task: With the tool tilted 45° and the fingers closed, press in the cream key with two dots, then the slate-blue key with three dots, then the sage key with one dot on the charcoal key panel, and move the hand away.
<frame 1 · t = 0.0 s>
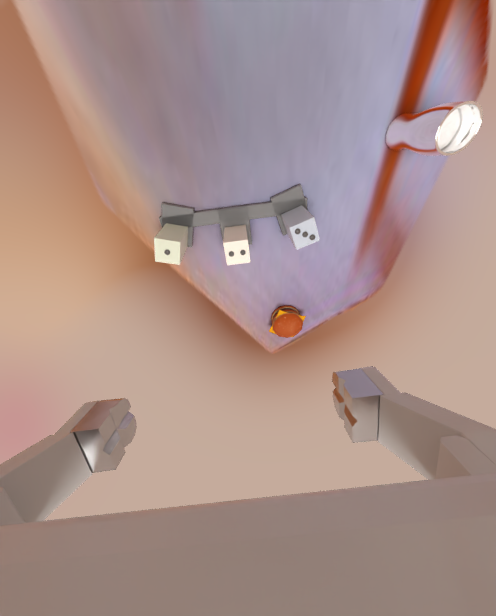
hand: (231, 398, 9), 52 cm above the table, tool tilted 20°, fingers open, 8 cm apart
key one dot: (172, 243, 51), point 7 cm above the table, slide at 0.0 cm
key two dots: (236, 244, 52), point 7 cm above the table, slide at 0.0 cm
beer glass: (400, 132, 47), on the table
hamburger: (284, 316, 74), on the table
key board: (236, 234, 57), on the table
key three dots: (299, 226, 50), point 7 cm above the table, slide at 0.0 cm
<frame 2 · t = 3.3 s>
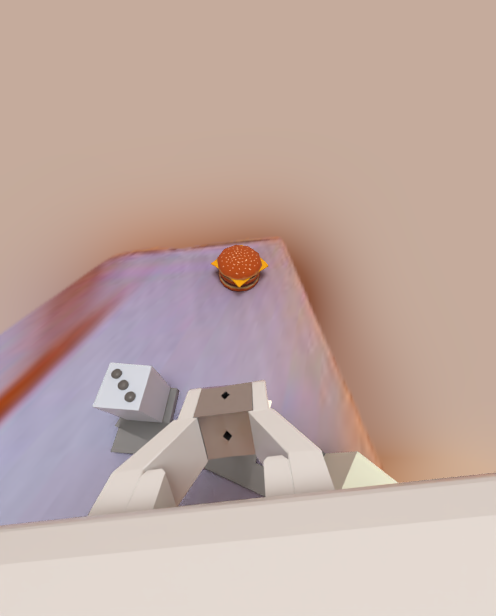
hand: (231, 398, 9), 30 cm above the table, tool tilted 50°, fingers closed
key one dot: (350, 488, 26), point 7 cm above the table, slide at 0.0 cm
key two dots: (242, 420, 30), point 7 cm above the table, slide at 0.0 cm
hamburger: (239, 276, 52), on the table
key board: (240, 427, 35), on the table
key three dots: (138, 395, 31), point 7 cm above the table, slide at 0.0 cm
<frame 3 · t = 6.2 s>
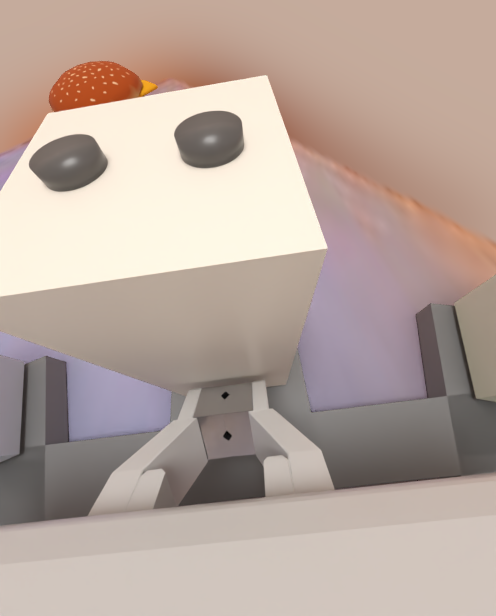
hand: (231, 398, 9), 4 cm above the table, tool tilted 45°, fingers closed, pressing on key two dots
key two dots: (210, 298, 8), point 7 cm above the table, slide at 0.4 cm, touching gripper
hamburger: (124, 143, 28), on the table
key board: (237, 359, 14), on the table
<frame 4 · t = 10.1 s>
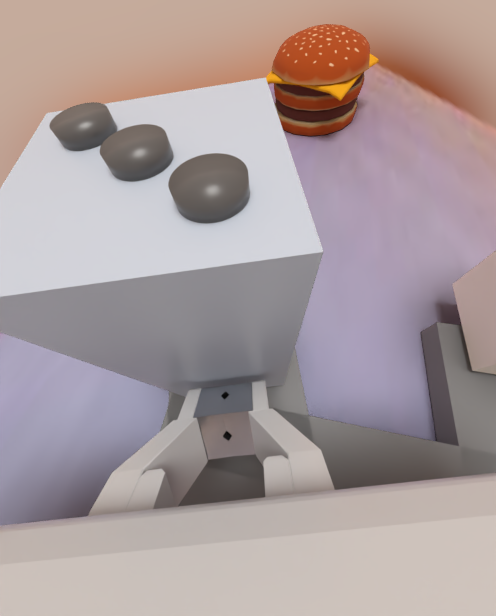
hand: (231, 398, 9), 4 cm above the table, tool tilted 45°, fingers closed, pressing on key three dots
hamburger: (313, 117, 27), on the table
key three dots: (208, 298, 8), point 7 cm above the table, slide at 1.5 cm, touching gripper
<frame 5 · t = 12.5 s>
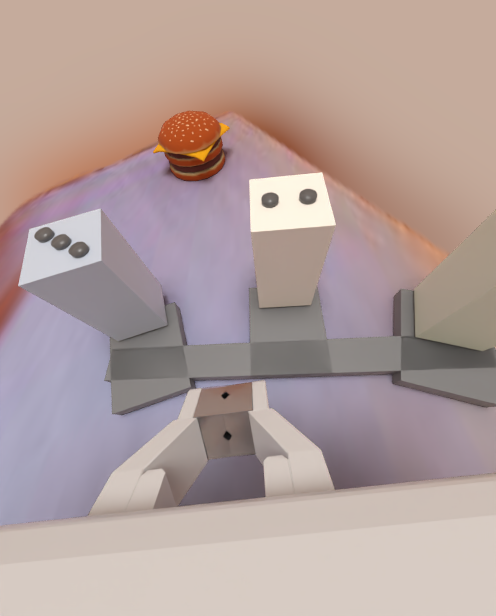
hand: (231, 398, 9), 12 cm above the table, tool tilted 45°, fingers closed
key one dot: (495, 286, 16), point 7 cm above the table, slide at 0.0 cm
key two dots: (285, 251, 19), point 7 cm above the table, slide at 2.4 cm
hamburger: (199, 165, 38), on the table
key board: (284, 313, 24), on the table
key three dots: (109, 284, 19), point 7 cm above the table, slide at 2.5 cm
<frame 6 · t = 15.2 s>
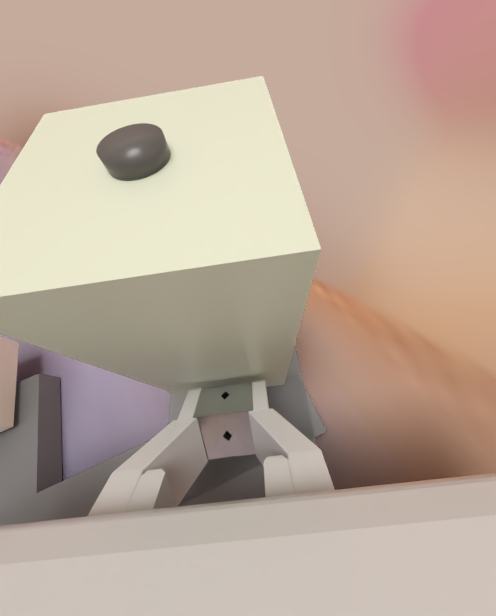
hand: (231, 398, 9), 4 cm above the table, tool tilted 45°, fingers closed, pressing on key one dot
key one dot: (208, 298, 8), point 7 cm above the table, slide at 1.4 cm, touching gripper
key board: (0, 444, 13), on the table
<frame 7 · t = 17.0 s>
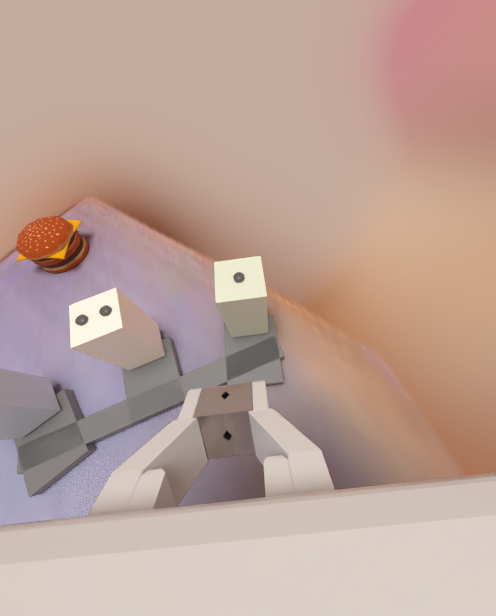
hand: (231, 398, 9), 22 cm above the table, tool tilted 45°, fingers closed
key one dot: (244, 301, 28), point 7 cm above the table, slide at 2.4 cm
key two dots: (122, 333, 27), point 7 cm above the table, slide at 2.4 cm
hamburger: (67, 254, 44), on the table
key board: (153, 365, 32), on the table
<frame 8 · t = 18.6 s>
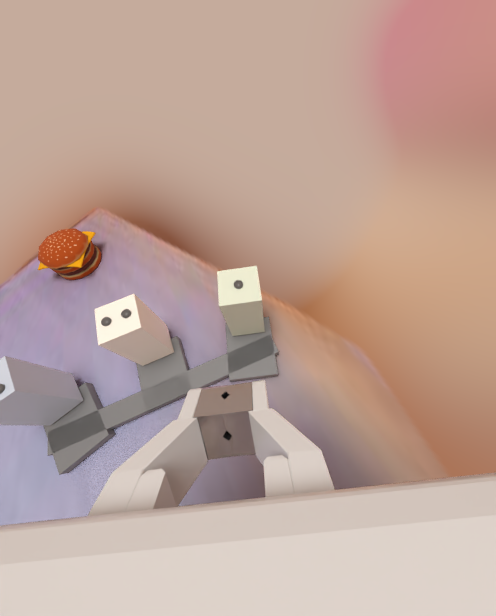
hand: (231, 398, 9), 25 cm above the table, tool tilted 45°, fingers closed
key one dot: (243, 304, 32), point 7 cm above the table, slide at 2.4 cm
key two dots: (138, 332, 32), point 7 cm above the table, slide at 2.4 cm
hamburger: (82, 262, 49), on the table
key board: (163, 361, 37), on the table
key three dots: (28, 393, 29), point 7 cm above the table, slide at 2.5 cm
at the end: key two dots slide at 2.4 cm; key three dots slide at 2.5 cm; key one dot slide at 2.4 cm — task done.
